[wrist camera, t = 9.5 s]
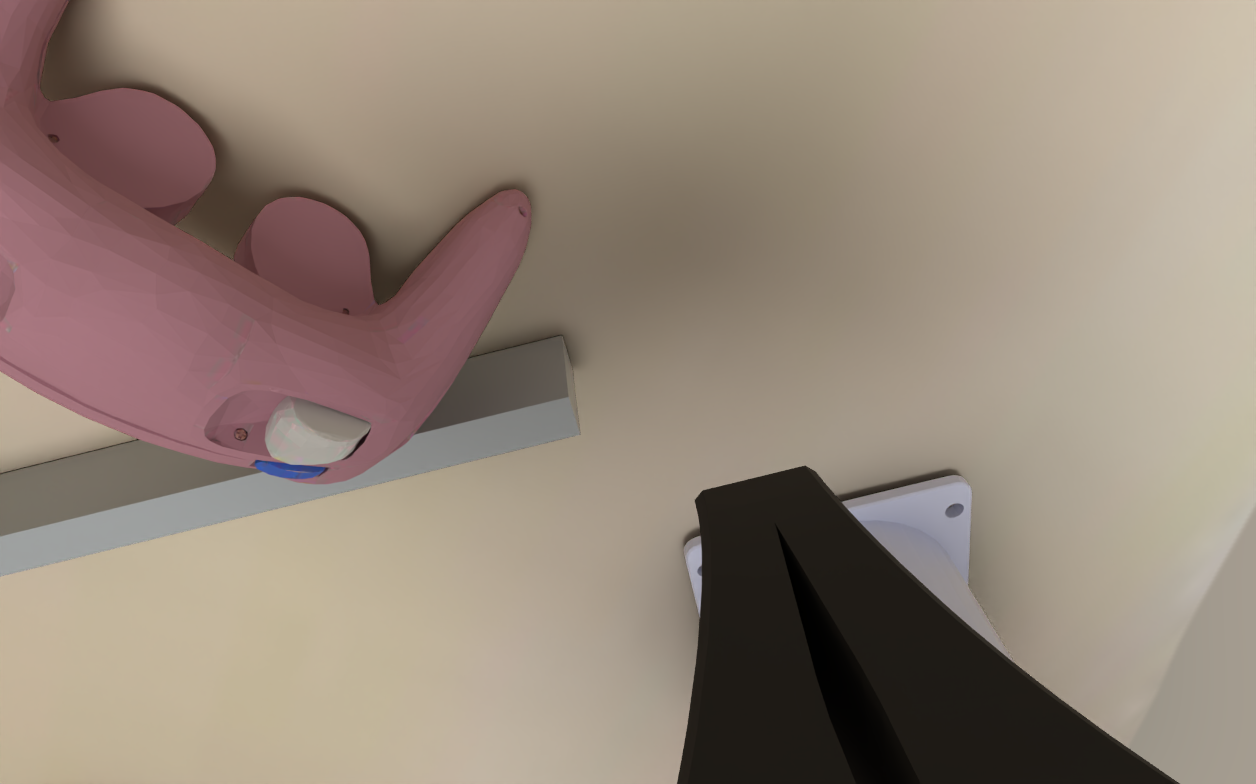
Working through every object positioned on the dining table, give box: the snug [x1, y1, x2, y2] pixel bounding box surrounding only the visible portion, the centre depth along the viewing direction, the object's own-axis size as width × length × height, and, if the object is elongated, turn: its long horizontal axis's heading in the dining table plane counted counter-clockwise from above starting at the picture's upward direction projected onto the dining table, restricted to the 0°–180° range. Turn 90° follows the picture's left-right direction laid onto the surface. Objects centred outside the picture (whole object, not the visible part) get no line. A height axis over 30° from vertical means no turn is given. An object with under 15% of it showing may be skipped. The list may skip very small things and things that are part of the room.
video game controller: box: [0, 0, 531, 484], centre depth 14 cm, size 10×5×7 cm, turn 49°
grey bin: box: [0, 335, 580, 576], centre depth 14 cm, size 16×16×2 cm
